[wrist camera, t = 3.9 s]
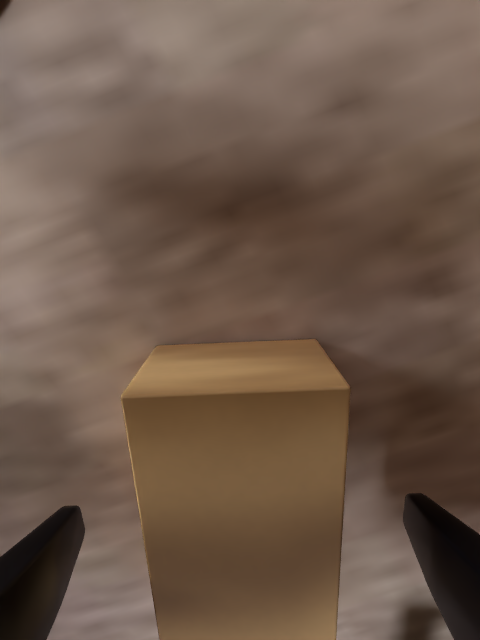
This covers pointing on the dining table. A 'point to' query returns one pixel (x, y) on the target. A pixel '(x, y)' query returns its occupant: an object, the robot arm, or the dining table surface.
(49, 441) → the dining table surface
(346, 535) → the dining table surface
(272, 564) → the tan cardboard box
